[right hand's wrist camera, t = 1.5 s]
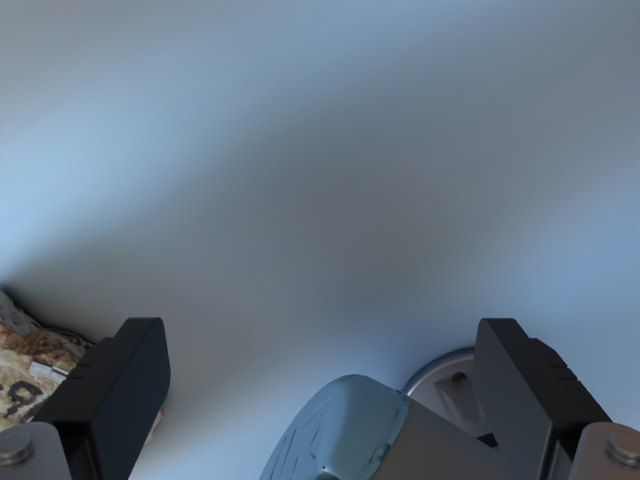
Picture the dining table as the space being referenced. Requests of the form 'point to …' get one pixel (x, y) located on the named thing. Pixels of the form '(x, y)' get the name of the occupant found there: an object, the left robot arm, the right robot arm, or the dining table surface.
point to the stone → (34, 364)
